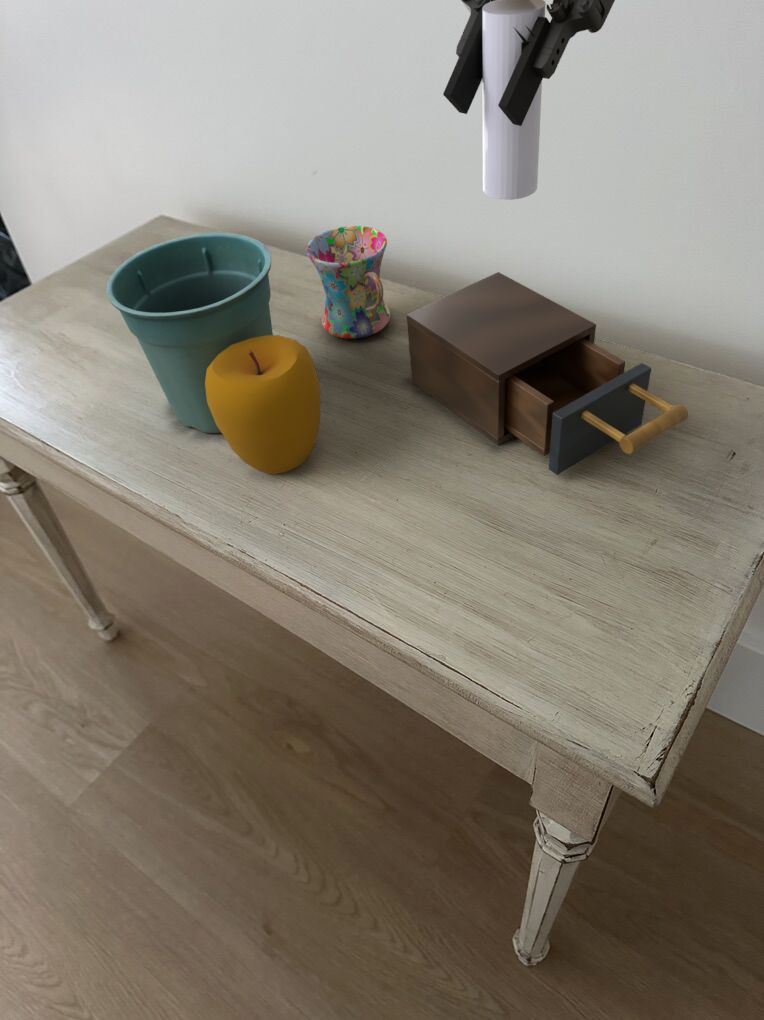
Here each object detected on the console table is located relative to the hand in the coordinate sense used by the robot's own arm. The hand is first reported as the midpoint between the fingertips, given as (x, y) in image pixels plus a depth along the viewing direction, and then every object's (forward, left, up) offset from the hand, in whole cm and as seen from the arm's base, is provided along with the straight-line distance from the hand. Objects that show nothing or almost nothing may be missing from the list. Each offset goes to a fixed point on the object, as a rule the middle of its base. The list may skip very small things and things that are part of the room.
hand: (482, 109), depth 60 cm
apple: (+19, +9, -31) cm, 38 cm away
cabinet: (0, -7, -31) cm, 32 cm away
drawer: (-9, -1, -30) cm, 31 cm away
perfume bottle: (-1, -4, -8) cm, 9 cm away
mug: (+19, -15, -31) cm, 40 cm away
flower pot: (+29, +2, -31) cm, 43 cm away
